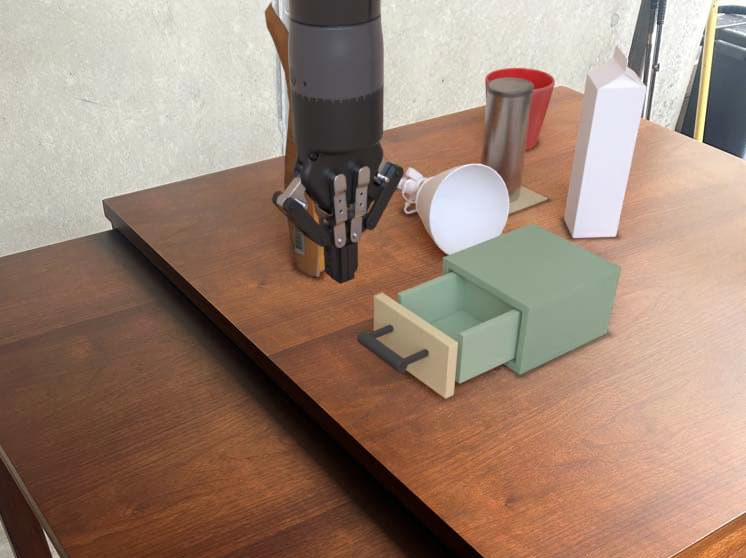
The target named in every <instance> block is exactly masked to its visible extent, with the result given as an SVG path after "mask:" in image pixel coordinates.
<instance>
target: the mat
mask: <svg viewBox="0 0 746 558" xmlns="http://www.w3.org/2000/svg"><path fill="white" fill-rule="evenodd" d="M548 200H549V199H548V197H547V196H545V195H543V194H540V193H538V192H536V191H534V190H532V189H530V188H528V187H525V186H523V185H521V189H520V196H519V198H518V199H517V200H516V201H514V202H511V203H509V212H508V215H510V214H511V215H512V214H513V213H516V212H519V211H521V210H525V209H526V208H530V207H532V206H534V205H537V204H540V203H542V202H546V201H548Z"/></svg>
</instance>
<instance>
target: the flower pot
mask: <svg viewBox="0 0 746 558" xmlns="http://www.w3.org/2000/svg"><path fill="white" fill-rule="evenodd" d="M506 77H513V78H521V79H525V80H528V81H530V82H532V83H533V85H534V88H533V92H532V98H531V106H530V115H529V123H528V131H527V139H526V148H525V151H527V150H530V149H532V148H533V147H536V145H537V143H538V139H539V136H540V134H541V130H542V127H543V124H544V121H545V119H546V115H547V112H548V108H549V105H550V102H551V98H552V94H553V92H554V88H555V85H556V84H555V83H556V81H555V78H554V77H553V75H551V74H549V73H548V72H545V71H543V70H539V69H534V68H528V67H527V68H525V67H507V68H501V69H496V70H493V71H491V72H489V73H487V75H486V76H485V81H484V83H485V100H486V99H487V84H488V82H490V81H491V80H494V79H498V78H506Z"/></svg>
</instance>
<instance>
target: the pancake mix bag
mask: <svg viewBox="0 0 746 558" xmlns="http://www.w3.org/2000/svg"><path fill="white" fill-rule="evenodd" d="M272 2H273V1H270V3H269V4H268V6H267V7H266V8H265V10H264V17H265V25H266V29H267V31H268V32H269V34H270V37H271V39H272V41H273V45H274V47H275V49H276V52H277V55H278V58H279V61H280V64H281V66H282V68H283V72H284V79H285V84H286V89H287V91H286V92H287V98H288V118H287V130H286V141H285V149H284V150H285V151H284V178H283V192H284V191H285V190H286V189H287V187H288V186H289V185H290V183H291V182H292V181H293V179H294V175H293V167H294V164H295V161H296V157H297V149H296V145H295V142H294V138H293V125H292V109H291V93H290V79H289V61H288V38H289V29H288V28H287V26H286V24H285V22H284V21H283V20H282V19H281V18H280V16H279V15H278V14H277V12H276V10H275V8H274V7H273V3H272ZM304 195H305V198H306V200H307V204H308V208H307V209H306V211H307V212H308V213H309V214H310V215H311V216H312V218H313V219H314V220H315V221H316V222H317V223H318V224H319V219H318V216H317V214H316V212H315V209H314V202H313V201H312V199H311V198H310V197H309V196H308V195H307V193H306V192H305V193H304ZM286 220H287V226H288V233H289V239H290V242H291V247H292V253H293V256H294V259H295V264H296V269H297V270H299V271H300V272H301V273H303V274H306V275H308V276H312V277H316V278H320V275H321V272H324V271H325V266H324V264H325V263H324V260H325V259H324V247H321V246H319V245H318V244H316V243H315V242H313V241H312V240H310V239H309V238H307V237H306V236H304V235H303V234H302V233H301V231H300V230H299V229H298V228H297V227H296V226H295V225H294V224H293V223H292V222H291V221H290V220H289V219H288V218H287V217H286Z"/></svg>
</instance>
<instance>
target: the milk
mask: <svg viewBox="0 0 746 558" xmlns="http://www.w3.org/2000/svg"><path fill="white" fill-rule="evenodd" d="M628 63H629V58H628V56H626V54H625V53H624V51H623V50H622V49H621V48H620V46H618V44H615V47H614V51H613V56H612V57H611V58H609V59H608V60H607V61H605V62H604V63H602V64H600V65H599V66H597V67H595V68H594V69H592V70H591V71H589V72H588V73H586V79H585V85H584V91H583V92H584V93H583V98H582V103H581V110H580V115H579V123H578V129H577V135H576V141H575V147H574V154H573V160H572V167H571V172H570V179H569V185H568V191H567V198H566V203H565V210H564V215H563V220H564V222H565V224H566V226H567V229H568V231H569V233H570V235H571V238H572V239H588V238H589V239H590V238H593V239H594V238H615V237H617V234H618V229H619V225H620V220H621V215H622V210H623V207H624V200H625V197H626V192H627V191H626V190H627V186H628V181H629V178H630V177H629V176H630V172H631V167H632V162H633V157H634V152H635V147H636V142H637V139H638V133H639V128H640V123H641V119H642V114H643V108H644V105H645V100H646V95H647V89H648V88H647V86H646V84H645V83H644V82H643V81H642V79H641V77H639V75H638V74H637V73H636V72H635V71H634V70H633V69H632V68H631V67H629V66H628Z"/></svg>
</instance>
